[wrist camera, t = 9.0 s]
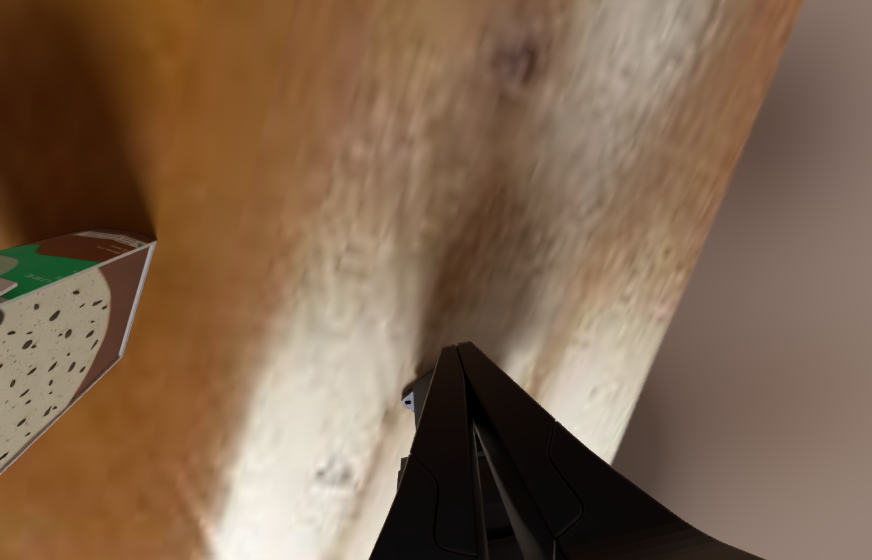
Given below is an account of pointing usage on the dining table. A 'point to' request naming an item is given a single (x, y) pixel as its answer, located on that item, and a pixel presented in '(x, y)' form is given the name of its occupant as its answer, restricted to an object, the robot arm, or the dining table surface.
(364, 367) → the dining table surface
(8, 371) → the food container
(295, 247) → the dining table surface
